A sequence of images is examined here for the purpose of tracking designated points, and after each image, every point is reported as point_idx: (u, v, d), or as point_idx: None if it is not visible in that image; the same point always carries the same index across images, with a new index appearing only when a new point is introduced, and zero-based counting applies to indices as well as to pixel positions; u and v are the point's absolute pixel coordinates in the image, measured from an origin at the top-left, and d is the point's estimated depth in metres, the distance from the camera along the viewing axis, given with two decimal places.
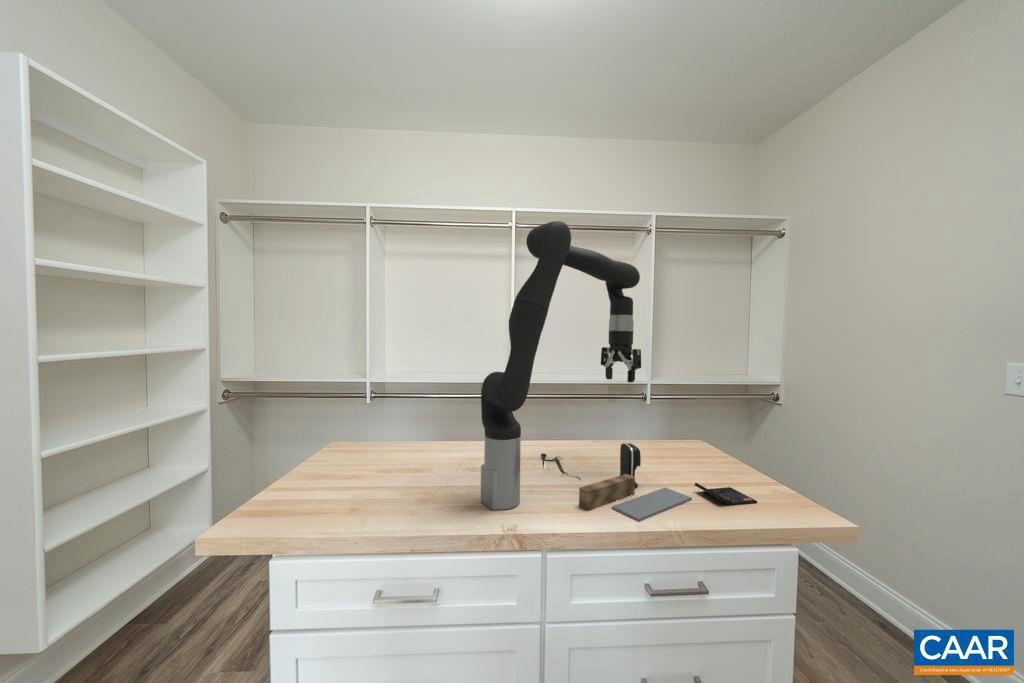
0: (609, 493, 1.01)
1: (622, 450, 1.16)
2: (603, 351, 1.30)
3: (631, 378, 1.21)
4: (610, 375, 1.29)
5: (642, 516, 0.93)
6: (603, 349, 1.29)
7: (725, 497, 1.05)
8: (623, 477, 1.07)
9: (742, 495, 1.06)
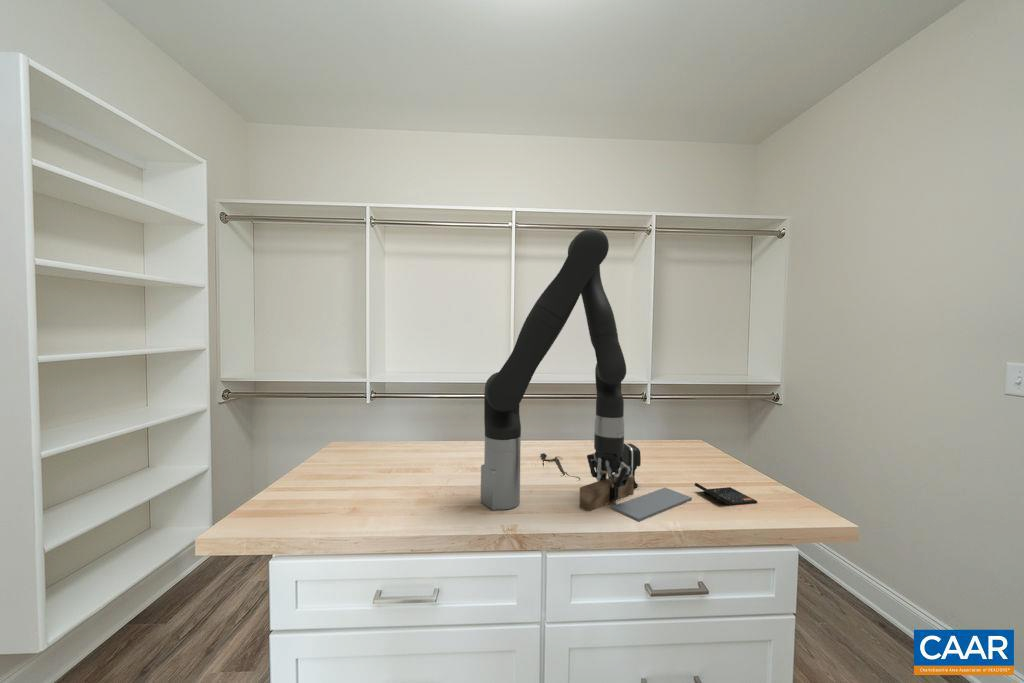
0: (609, 492, 1.01)
1: None
2: (590, 459, 1.07)
3: (614, 497, 1.01)
4: None
5: (642, 516, 0.93)
6: (589, 457, 1.07)
7: (725, 497, 1.05)
8: None
9: (742, 495, 1.06)
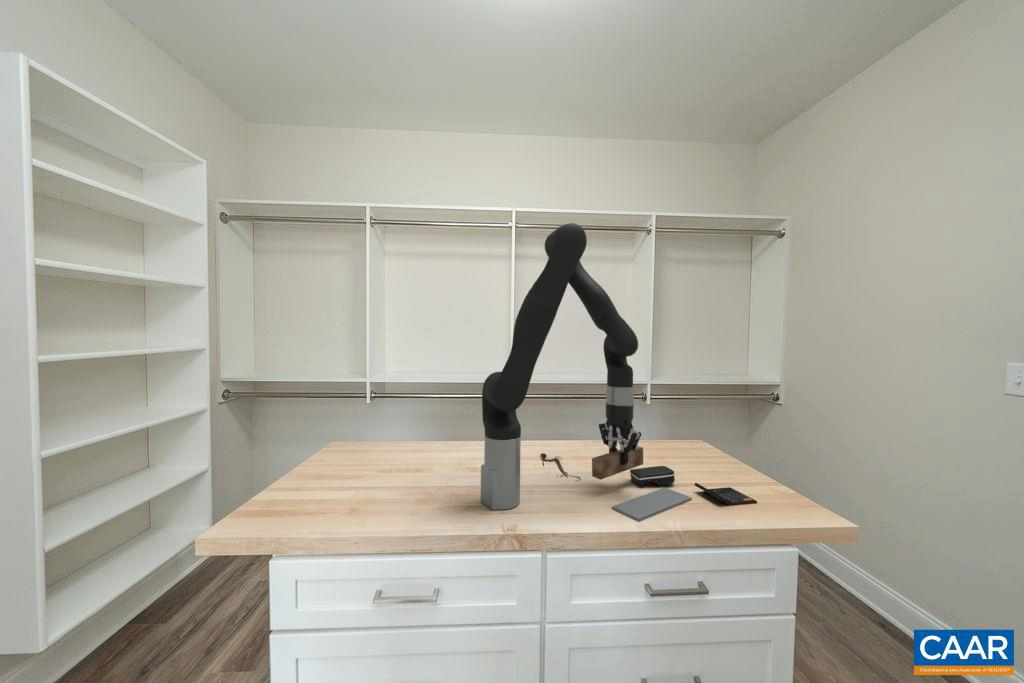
0: (619, 462, 1.09)
1: (661, 467, 1.17)
2: (601, 428, 1.15)
3: (624, 461, 1.09)
4: None
5: (642, 516, 0.93)
6: (600, 426, 1.15)
7: (725, 497, 1.05)
8: None
9: (742, 495, 1.06)
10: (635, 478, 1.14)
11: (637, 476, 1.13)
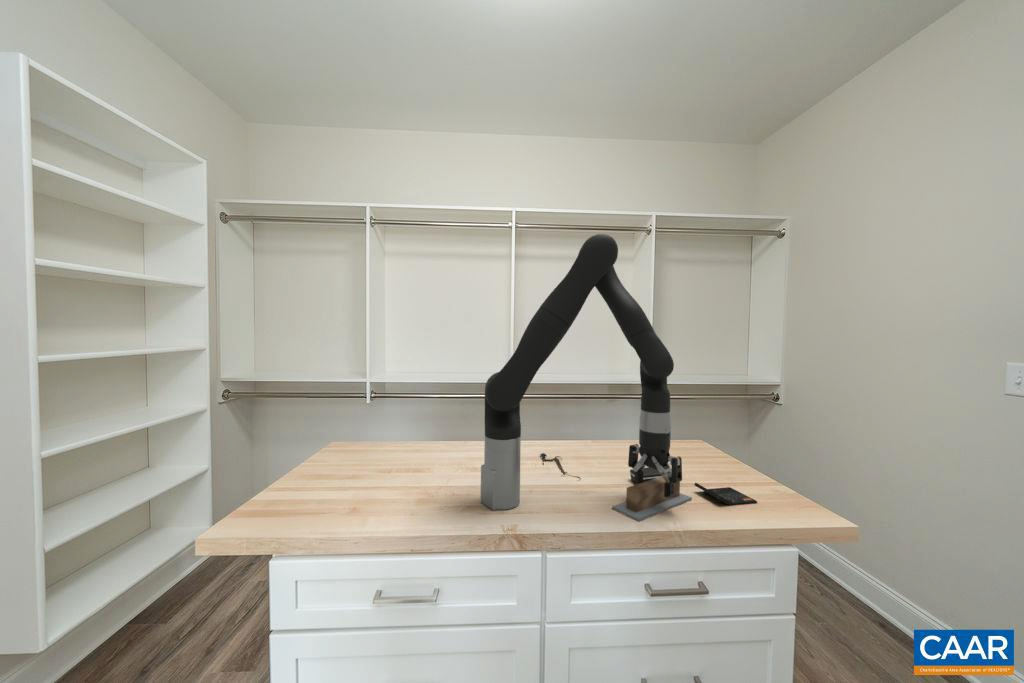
0: (656, 493, 0.99)
1: None
2: (631, 450, 1.05)
3: (669, 493, 0.97)
4: (640, 480, 1.04)
5: (642, 516, 0.93)
6: (631, 448, 1.05)
7: (725, 497, 1.05)
8: None
9: (742, 495, 1.06)
10: None
11: None
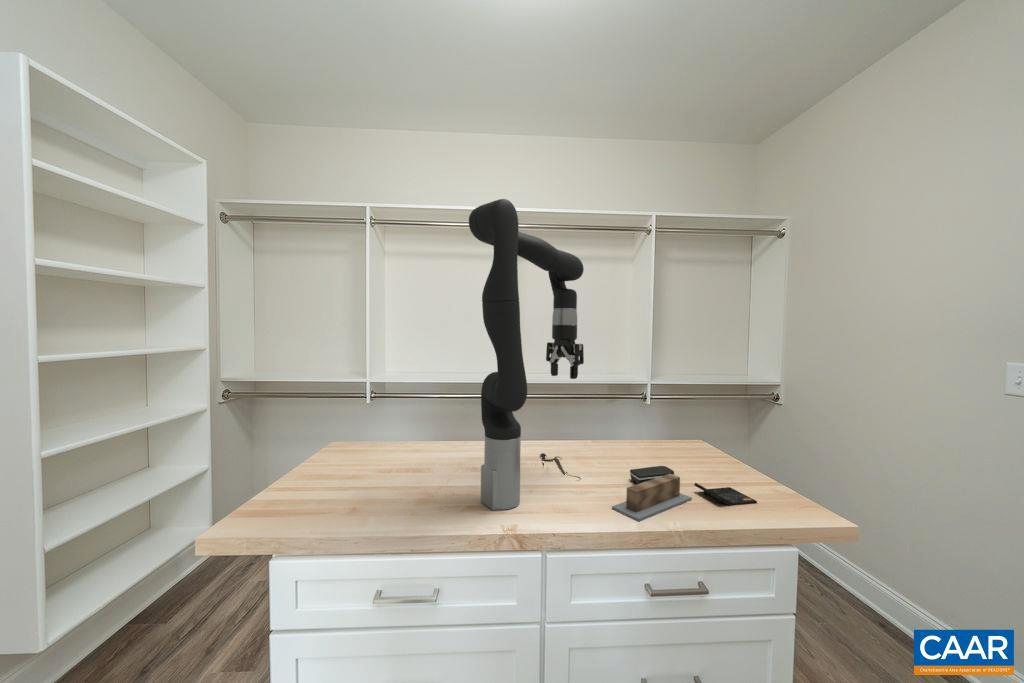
0: (656, 493, 0.99)
1: (661, 467, 1.17)
2: (548, 346, 1.24)
3: (573, 374, 1.16)
4: (555, 371, 1.23)
5: (642, 516, 0.93)
6: (548, 344, 1.24)
7: (725, 497, 1.05)
8: (668, 477, 1.05)
9: (742, 495, 1.06)
10: (635, 478, 1.14)
11: (637, 476, 1.13)
